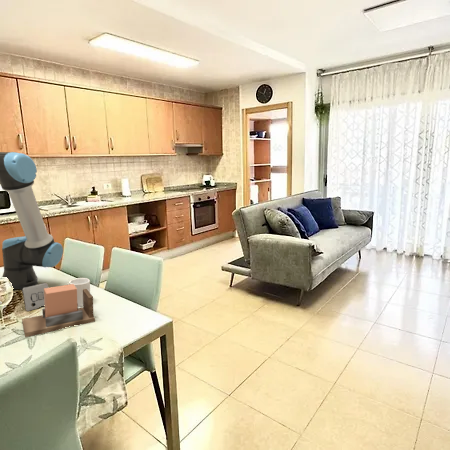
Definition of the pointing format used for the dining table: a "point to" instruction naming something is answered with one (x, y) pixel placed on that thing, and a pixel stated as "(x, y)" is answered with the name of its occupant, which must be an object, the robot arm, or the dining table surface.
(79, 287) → the mug
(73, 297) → the pink block
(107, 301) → the dining table surface
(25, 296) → the electrical switch
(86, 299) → the wooden block holder
